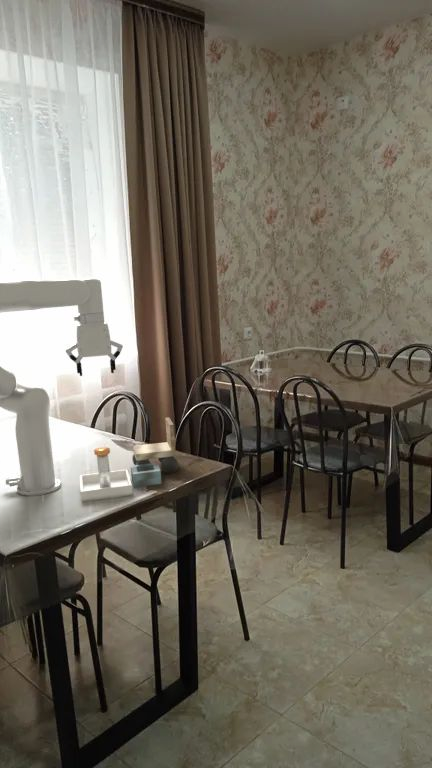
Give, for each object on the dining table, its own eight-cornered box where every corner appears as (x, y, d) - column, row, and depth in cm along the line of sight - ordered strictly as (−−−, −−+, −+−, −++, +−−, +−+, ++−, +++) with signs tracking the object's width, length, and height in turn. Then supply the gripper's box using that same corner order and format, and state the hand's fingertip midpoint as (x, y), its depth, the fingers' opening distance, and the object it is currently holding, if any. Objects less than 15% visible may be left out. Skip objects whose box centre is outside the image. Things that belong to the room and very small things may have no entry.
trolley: (134, 487, 182) (129, 437, 179) (128, 467, 201) (124, 421, 198) (183, 480, 185) (180, 431, 182) (173, 461, 204) (170, 416, 201)
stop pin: (98, 491, 179) (94, 452, 177) (97, 486, 183) (93, 448, 181) (113, 489, 180) (110, 450, 178) (112, 484, 184) (109, 446, 182)
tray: (81, 501, 174) (80, 491, 173) (80, 484, 187) (79, 475, 186) (132, 495, 176) (131, 484, 176) (128, 478, 190) (127, 469, 189)
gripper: (62, 322, 187) (68, 378, 191) (121, 317, 191) (125, 373, 194) (62, 320, 194) (68, 374, 198) (119, 315, 198) (123, 369, 201)
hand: (96, 374), depth 196 cm, fingers open, 9 cm apart
